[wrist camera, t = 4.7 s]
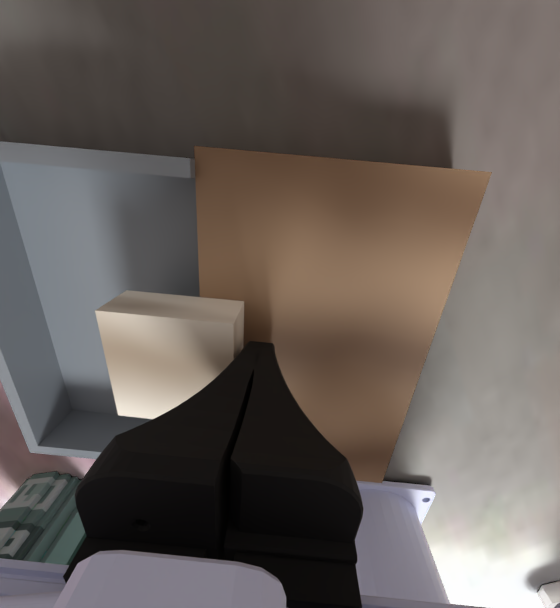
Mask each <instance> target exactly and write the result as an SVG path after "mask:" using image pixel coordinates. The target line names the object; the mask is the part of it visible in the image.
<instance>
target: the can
mask: <svg viewBox="0 0 560 608" xmlns="http://www.w3.org/2000/svg"><path fill="white" fill-rule="evenodd" d="M81 481H82V480H79V479H78V478H77V477H71V476H70V474H63V475H59V474H58V472H57V471H56V472H48V473H41V474H33V475H32V476H31V478H30V479H27V480H26V481H25V482H24V483H23V484H22V486H21V487H20V488H19V489H18V490H17V491H16V492H15V493H14V495H13V496H12V497H11V498H10V499H9V500H8V501H7V502H6V504H5V505H4V506H3V507H2V508H1V509H0V558H2V559H12V560H22V561H31V562H41V563H51V564H61V565H70V563H71V562H72V560H73V558H74V556H75V555H76V553H77V551H78V550H79V548H80V546H81V544H82V543H83V541H84V539H85V538H86V533H85V530H84V527H83V524H82V521H81V519H80V516H79V513H78V510H77V507H76V502H75V492H76V489H77V486H78V485H79V484H80V482H81Z"/></svg>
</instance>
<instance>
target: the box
mask: <svg viewBox="0 0 560 608" xmlns="http://www.w3.org/2000/svg"><path fill="white" fill-rule="evenodd" d="M126 290H129V291H140V292H151V293H161V294H172V295H183V296H193V297H200V287H199V261H198V235H197V209H196V182H195V159H191V158H182V157H171V156H159V155H148V154H137V153H126V152H115V151H103V150H92V149H81V148H70V147H58V146H47V145H36V144H25V143H14V142H2V141H0V380H1V383H2V385H3V388H4V390H5V393H6V395H7V397H8V400H9V402H10V405H11V407H12V410H13V412H14V415H15V417H16V420H17V422H18V424H19V427H20V429H21V432H22V434H23V437H24V439H25V442H26V444H27V447H28V449H29V451H30V453H39V454H49V455H59V456H69V457H79V458H90V459H97V458H98V456H99V455H100V454H101V453H102V451H103V450H104V449H105V448H106V446H107V445H108V444H109V443H110V442H111V441H112V439H113V438H114V437H115V436H116V435H118V434H121V433H123V432H126V431H128V430H130V429H133V428H135V427H137V426H139V425H142V424H144V423H146V422H148V421H150V420H152V419H147V418H138V417H129V416H120V415H118V412H117V408H116V403H115V399H114V394H113V390H112V385H111V381H110V376H109V372H108V367H107V363H106V358H105V354H104V349H103V345H102V340H101V336H100V331H99V327H98V322H97V318H96V313H95V310H96V309H98V308H100V307H101V306H103V305H104V304H106V303H107V302H109V301H111V300H112V299H114V298H115V297H117V296H119V295H120V294H122V293H123V292H125V291H126Z"/></svg>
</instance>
